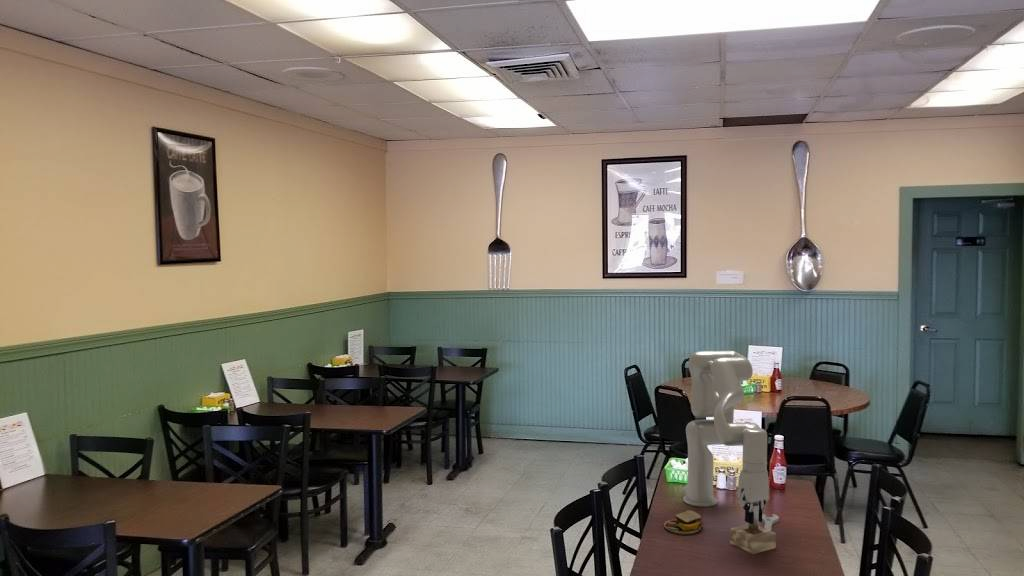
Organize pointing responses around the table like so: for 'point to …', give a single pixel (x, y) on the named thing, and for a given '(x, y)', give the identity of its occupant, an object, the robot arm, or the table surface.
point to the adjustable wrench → (769, 521)
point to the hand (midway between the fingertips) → (753, 521)
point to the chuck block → (753, 539)
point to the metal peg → (755, 518)
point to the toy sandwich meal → (684, 523)
